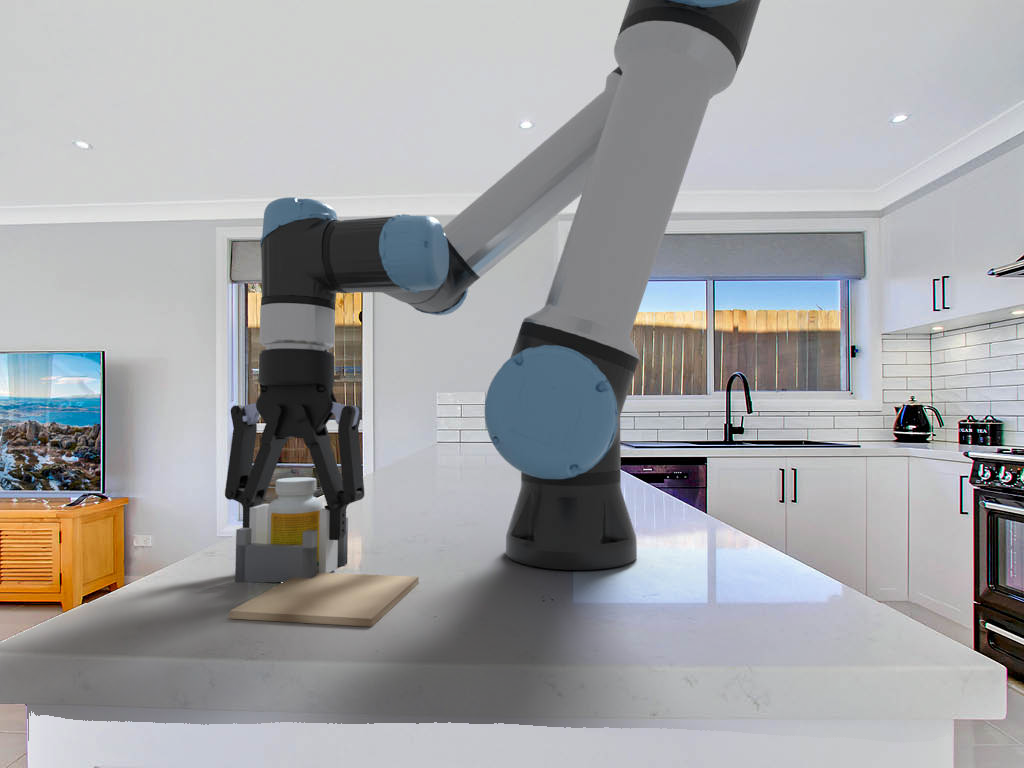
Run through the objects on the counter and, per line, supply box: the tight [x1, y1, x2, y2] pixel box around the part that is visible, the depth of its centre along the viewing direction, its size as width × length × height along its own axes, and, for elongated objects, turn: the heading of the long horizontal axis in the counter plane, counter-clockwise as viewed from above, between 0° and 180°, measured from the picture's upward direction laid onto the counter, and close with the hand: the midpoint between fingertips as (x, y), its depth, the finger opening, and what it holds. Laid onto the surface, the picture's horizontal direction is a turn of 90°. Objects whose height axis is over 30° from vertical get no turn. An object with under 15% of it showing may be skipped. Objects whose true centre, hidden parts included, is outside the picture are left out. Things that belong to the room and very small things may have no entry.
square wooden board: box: [229, 571, 420, 628], centre depth 54 cm, size 12×12×1 cm
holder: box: [234, 516, 349, 583], centre depth 63 cm, size 8×8×5 cm
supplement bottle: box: [267, 476, 323, 572], centre depth 63 cm, size 5×5×10 cm
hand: (293, 569), depth 63 cm, fingers open, 7 cm apart
